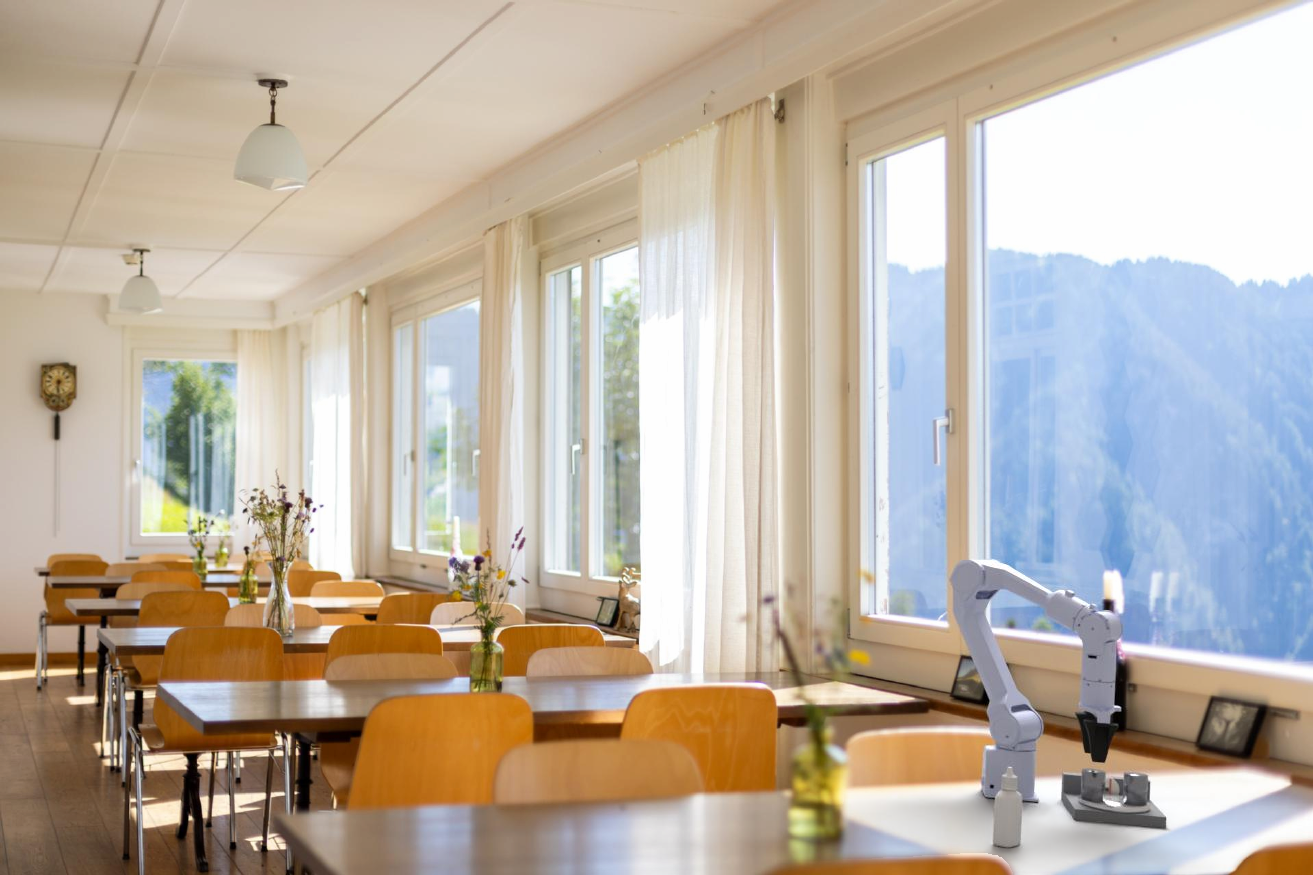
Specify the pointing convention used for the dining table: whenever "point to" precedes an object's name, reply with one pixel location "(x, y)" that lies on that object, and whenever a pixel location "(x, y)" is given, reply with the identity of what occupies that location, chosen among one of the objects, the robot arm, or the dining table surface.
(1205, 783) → the dining table surface
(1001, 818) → the eye dropper bottle
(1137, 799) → the cylinder
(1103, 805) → the pan
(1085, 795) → the cylinder
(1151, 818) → the scale
